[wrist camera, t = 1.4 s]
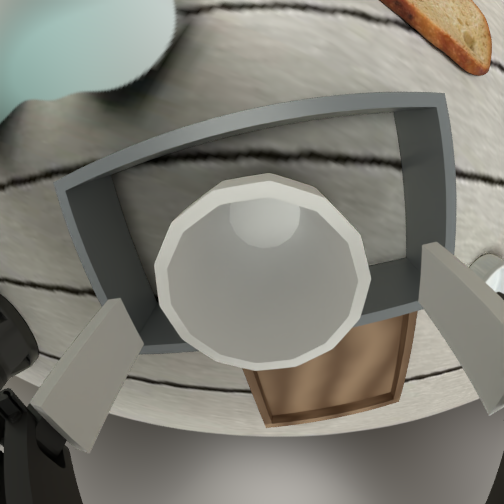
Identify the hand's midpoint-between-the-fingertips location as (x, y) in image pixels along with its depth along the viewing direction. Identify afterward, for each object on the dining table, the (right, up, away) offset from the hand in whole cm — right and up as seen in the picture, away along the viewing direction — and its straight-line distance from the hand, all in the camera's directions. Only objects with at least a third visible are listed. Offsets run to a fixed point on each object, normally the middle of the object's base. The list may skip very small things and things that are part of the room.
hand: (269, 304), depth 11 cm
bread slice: (+15, +27, +3) cm, 32 cm away
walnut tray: (+8, -11, +19) cm, 24 cm away
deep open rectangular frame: (0, +5, +13) cm, 14 cm away
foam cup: (0, +5, +13) cm, 14 cm away
